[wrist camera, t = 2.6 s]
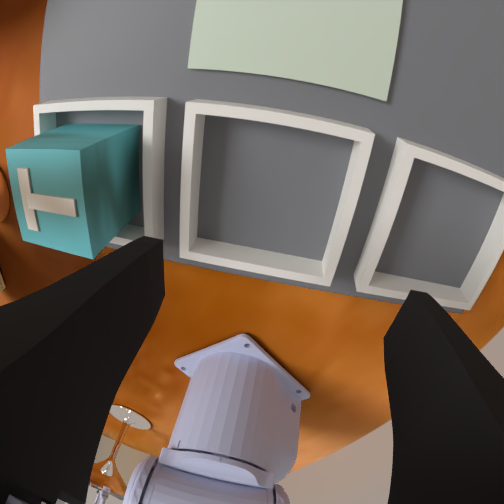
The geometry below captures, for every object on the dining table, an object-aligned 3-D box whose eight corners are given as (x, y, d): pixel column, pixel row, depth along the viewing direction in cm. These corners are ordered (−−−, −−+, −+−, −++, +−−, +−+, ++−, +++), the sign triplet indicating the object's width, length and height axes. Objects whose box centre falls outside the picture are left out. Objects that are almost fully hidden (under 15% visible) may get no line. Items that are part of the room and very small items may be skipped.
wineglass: (161, 436, 37) (126, 541, 22) (111, 419, 38) (71, 516, 22) (151, 412, 32) (105, 537, 17) (95, 392, 33) (43, 504, 18)
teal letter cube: (140, 211, 17) (91, 260, 12) (73, 200, 17) (21, 241, 13) (139, 124, 14) (78, 150, 10) (67, 123, 14) (4, 149, 10)
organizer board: (458, 306, 18) (469, 328, 16) (61, 229, 19) (42, 245, 18) (545, 25, 7) (568, 25, 5) (67, -51, 8) (44, -57, 6)
